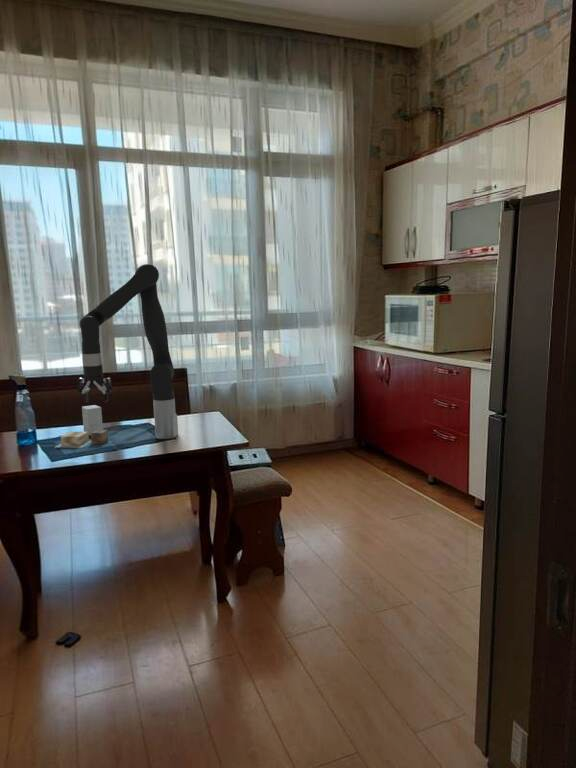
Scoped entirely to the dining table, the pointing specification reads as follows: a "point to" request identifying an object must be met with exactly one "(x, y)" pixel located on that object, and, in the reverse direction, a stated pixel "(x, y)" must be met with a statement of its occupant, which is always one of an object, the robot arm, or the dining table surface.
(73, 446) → the board
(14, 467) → the dining table surface
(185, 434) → the dining table surface
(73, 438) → the beech block
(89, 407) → the small box
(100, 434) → the walnut block
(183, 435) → the dining table surface
